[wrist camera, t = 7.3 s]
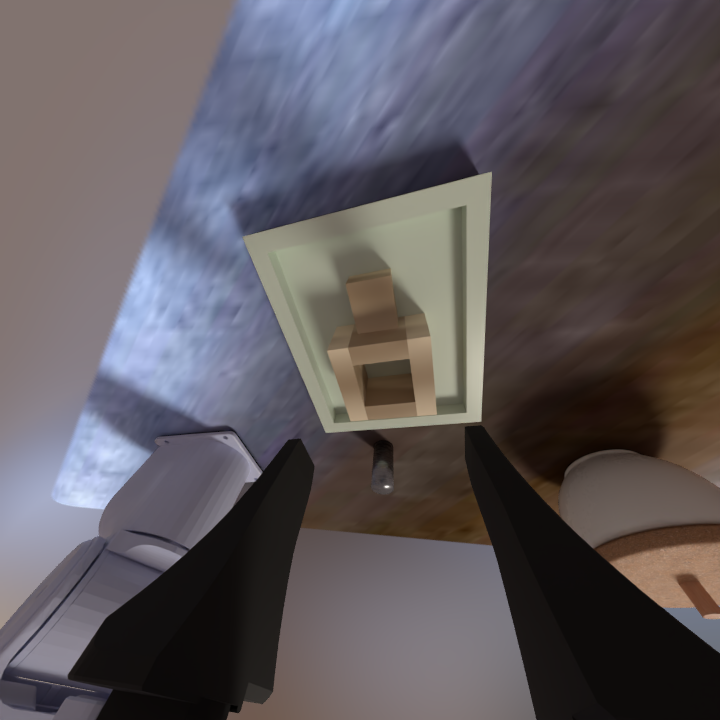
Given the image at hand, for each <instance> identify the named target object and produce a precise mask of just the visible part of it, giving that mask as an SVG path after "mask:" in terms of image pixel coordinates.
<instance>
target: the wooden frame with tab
mask: <svg viewBox="0 0 720 720" xmlns="http://www.w3.org/2000/svg"><path fill="white" fill-rule="evenodd" d="M346 288H347V292H348V296H349V300H350V304H351V308H352V312H353V316H354V320H355V324H352V325H346V326H340V327H337V328H336V330H335V332H334V335H333V337H332V340H331V342H330V345H329V347H328V350H327V352H328V355H329V358H330V361H331V364H332V367H333V370H334V373H335V376H336V379H337V382H338V385H339V388H340V391H341V394H342V397H343V400H344V403H345V406H346V409H347V412H348V415H349V418H350V421H362V420H375V419H388V418H401V417H413V416H426V415H437V409H436V396H435V384H434V371H433V359H432V346H431V336H430V332H429V328H428V325H427V321H426V317H425V314H424V313H421V314H415V315H409V316H403V317H398V314H397V307H396V300H395V294H394V287H393V280H392V274H391V268H389V269H384V270H379V271H374V272H369V273H364V274H359V275H354V276H349V278H348V280H347V282H346ZM403 359H410V365H411V373H409V374H400V375H391V376H382V377H373V378H368V376H367V372H366V368H365V364H371V363H379V362H387V361H395V360H403Z"/></svg>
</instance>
